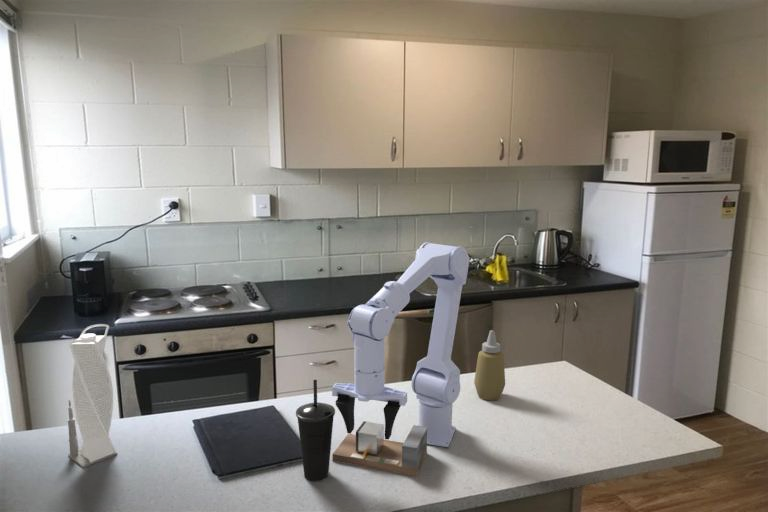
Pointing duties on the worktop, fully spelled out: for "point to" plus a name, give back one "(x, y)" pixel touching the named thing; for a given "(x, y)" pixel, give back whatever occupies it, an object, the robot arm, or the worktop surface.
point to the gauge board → (388, 453)
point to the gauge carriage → (369, 438)
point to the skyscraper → (91, 400)
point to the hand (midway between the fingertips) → (369, 433)
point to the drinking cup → (315, 437)
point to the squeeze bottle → (490, 370)
